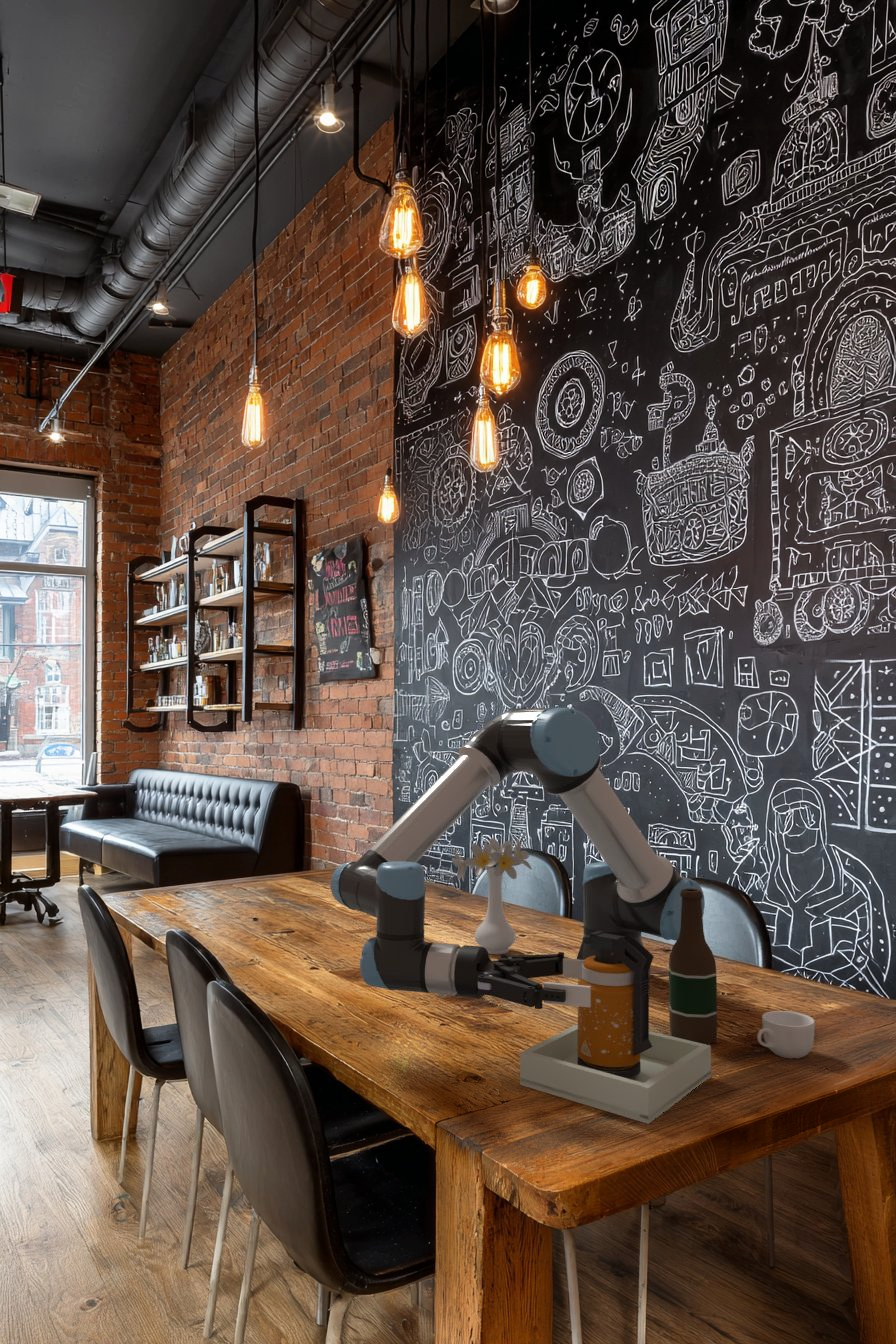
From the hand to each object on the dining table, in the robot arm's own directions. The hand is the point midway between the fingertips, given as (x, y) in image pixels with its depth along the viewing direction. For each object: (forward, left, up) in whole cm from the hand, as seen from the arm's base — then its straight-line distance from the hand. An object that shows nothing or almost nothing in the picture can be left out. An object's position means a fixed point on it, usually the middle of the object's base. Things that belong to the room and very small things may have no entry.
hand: (598, 983), depth 133 cm
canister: (-1, +2, -13) cm, 13 cm away
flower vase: (-49, -55, -14) cm, 75 cm away
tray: (-1, +2, -14) cm, 14 cm away
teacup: (-27, +17, -14) cm, 35 cm away
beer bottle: (-25, +3, -14) cm, 29 cm away
